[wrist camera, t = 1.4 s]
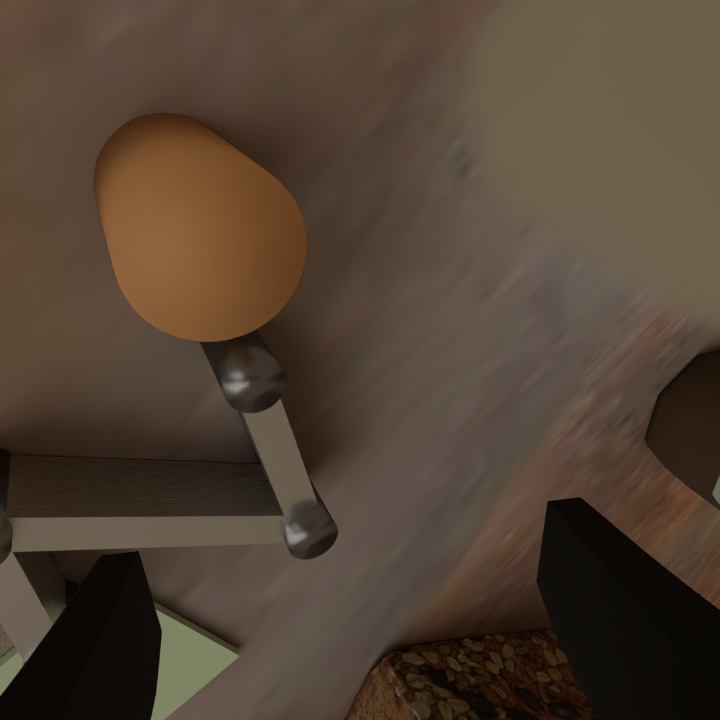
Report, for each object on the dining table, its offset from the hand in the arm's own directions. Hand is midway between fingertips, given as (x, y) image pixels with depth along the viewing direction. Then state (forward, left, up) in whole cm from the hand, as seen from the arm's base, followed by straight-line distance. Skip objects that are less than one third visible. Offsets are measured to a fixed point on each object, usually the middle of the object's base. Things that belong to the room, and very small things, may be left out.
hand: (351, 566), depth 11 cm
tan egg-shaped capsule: (-4, +2, -11) cm, 12 cm away
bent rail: (+3, -6, -11) cm, 13 cm away
